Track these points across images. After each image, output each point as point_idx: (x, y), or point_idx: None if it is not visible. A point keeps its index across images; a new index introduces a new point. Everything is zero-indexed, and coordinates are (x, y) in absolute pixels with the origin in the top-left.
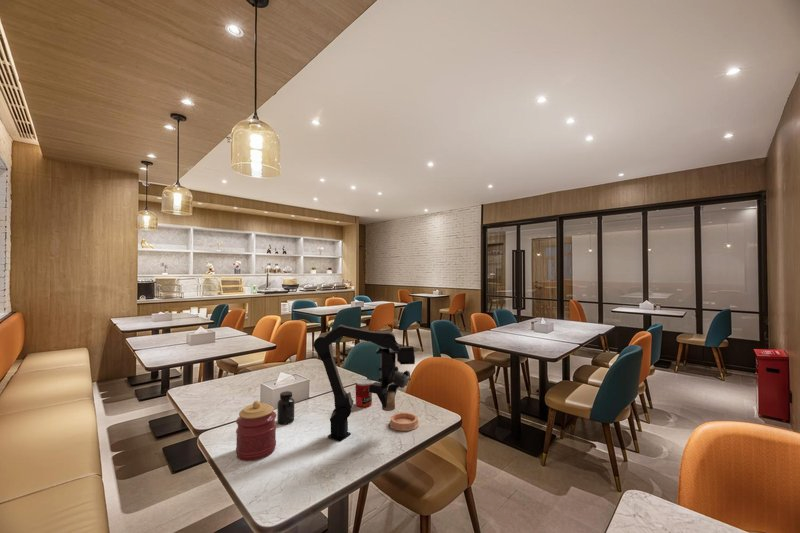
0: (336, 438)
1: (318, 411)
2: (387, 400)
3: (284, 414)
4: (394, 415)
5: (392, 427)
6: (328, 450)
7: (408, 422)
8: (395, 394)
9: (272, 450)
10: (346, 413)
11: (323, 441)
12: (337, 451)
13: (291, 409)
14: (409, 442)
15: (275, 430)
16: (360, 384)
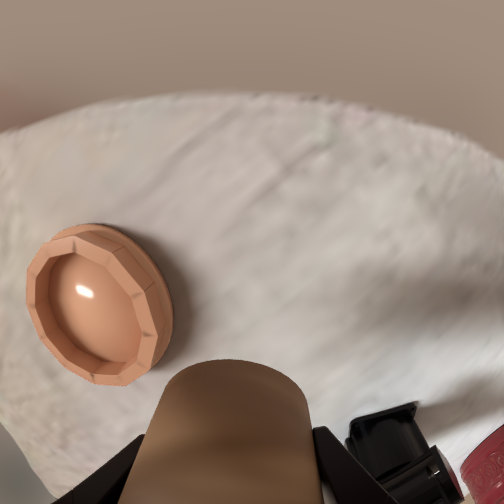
0: (412, 419)
1: None
2: (316, 493)
3: None
4: (104, 377)
5: (171, 332)
6: (470, 376)
7: (79, 289)
8: (79, 488)
9: (499, 433)
10: (450, 477)
11: (427, 428)
12: (470, 353)
13: None
14: (239, 142)
15: (499, 470)
16: None
